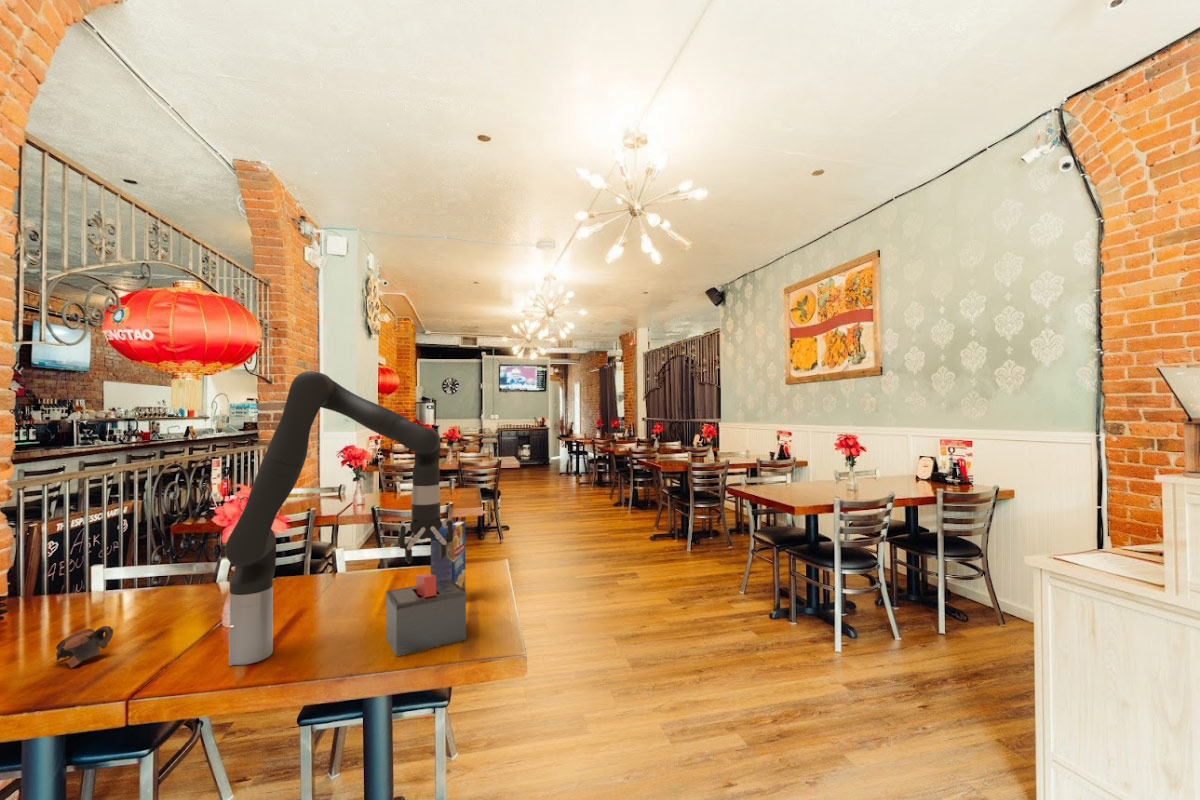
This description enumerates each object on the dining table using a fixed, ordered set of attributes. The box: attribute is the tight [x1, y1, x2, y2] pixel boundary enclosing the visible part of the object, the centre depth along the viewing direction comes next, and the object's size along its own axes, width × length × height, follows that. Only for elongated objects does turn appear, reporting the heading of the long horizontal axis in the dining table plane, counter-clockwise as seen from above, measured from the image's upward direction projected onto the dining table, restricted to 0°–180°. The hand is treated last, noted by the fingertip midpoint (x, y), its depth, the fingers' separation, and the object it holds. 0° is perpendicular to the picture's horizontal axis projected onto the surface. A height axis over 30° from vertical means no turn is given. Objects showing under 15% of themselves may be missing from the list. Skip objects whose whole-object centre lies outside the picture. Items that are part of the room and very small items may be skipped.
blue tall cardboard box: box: [430, 521, 467, 593], centre depth 179 cm, size 12×8×24 cm, turn 175°
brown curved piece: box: [55, 625, 114, 669], centre depth 136 cm, size 12×9×8 cm
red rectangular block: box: [415, 573, 437, 597], centre depth 146 cm, size 3×5×9 cm
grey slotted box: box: [385, 580, 467, 657], centre depth 146 cm, size 18×13×13 cm
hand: (425, 560), depth 146 cm, fingers open, 8 cm apart
